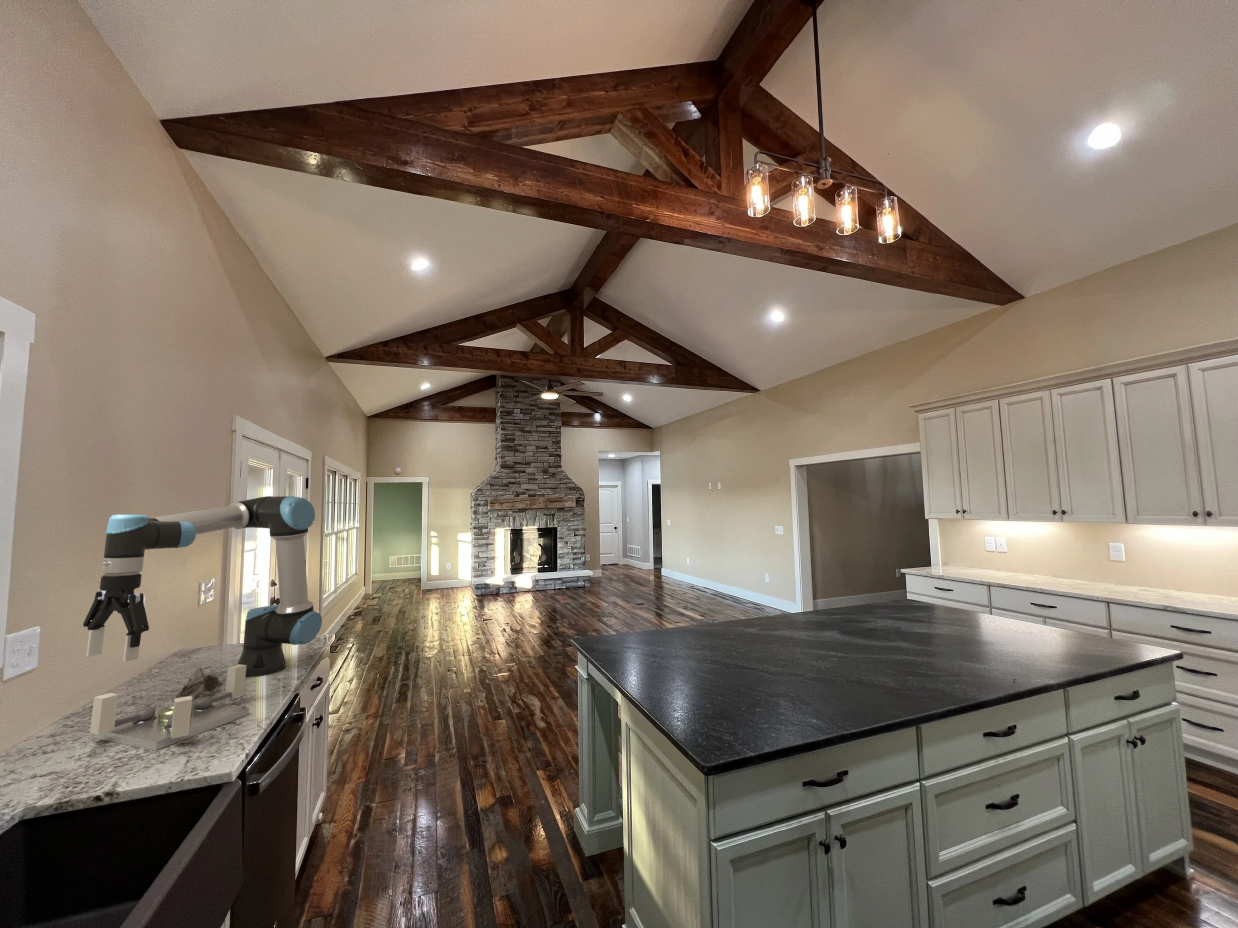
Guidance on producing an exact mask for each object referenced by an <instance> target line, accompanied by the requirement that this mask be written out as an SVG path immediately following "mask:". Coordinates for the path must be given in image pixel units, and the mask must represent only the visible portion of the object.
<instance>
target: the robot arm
mask: <svg viewBox="0 0 1238 928" xmlns="http://www.w3.org/2000/svg"><path fill="white" fill-rule="evenodd" d="M315 518H316V511H315V507H314V505H313V504H312V503H311V502H310V501H309V500H308V499H306V498H304V497H301V496H295V495H294V496H293V495H289V496H287V495H285V496H283V495H281V496H278V495H277V496H274V495H272V496H271V495H269V496H268V495H267V496H261V497H255V498H250V499H245V500H241V501H234V502H231V503H230V504H229V505H228V506H221V507H219V506H218V507H213V508H207V509H201V510H195V511H187V512H181V513H174V514H167V515H162V516H156V517H155V516H154V517H149V516H148V515H147V514H113V515H111V516H110V517H109V519H108V522H107V527H106V530H105V543H104V551H103V552H104V553H103V561H102V563H101V566H102V570H101V573H103V575H102V576H101V577H100V582H99V583H100V584H99V590H100V591H96V593H95V595H94V600H93V602H92V605H91V606H90V609H89V611H88V613H87V614H86V616H85V618H84V621H83V624H82V626H83V627H84V628H86V629H87V630H88V632H89V633H88V638H87V639H88V640H87V647H86V656H85V657H93V656H97V655H102V651H103V644H104V636H105V627H106V626H105V624H106V622H107V621H108V619H110V616H111V615H112V614H113V613H114V612H117V614H120V616H121V618H122V620H123V622H124V625H125V628H126V629H127V633H126V634H125V640H124V650H123V656H122V662H123V663H126V662H130V661H135V660H138V659H139V654H140V645H141V640H142V639H141V637H142V634H143V633H145V632H148V631H150V625H149V622H148V617H147V612H146V609H145V608H146V607H145V603H144V598H145V597H144V596H145V595H144V593H143V592H142V593H135V590H136V589H139V588H140V587H141V585H142V584H141V583H142V575H143V574H142V573H140V572H143V571H144V570H143V568H144V560H145V559H144V558H145V551H146V550H156V549H157V550H159V549H162V550H163V549H179V548H187V547H189V546H190V545H192V544H193V542H194V541H195V539H196V537H197V536H196V535H200V534H206V533H210V532H216V531H217V532H218V531H221V530H226V529H231V528H233V529H235V530H241V529H246V528H247V529H250V528H252V529H254V528H257V529H269V537H270V538H272V539H273V540H275V551H276V563H277V564H276V565H277V578H278V591H279V594H278V595H279V604H273V605H267V606H266V605H265V606H259V607H256V608H251V609H250V610H248V611H247V613H246V618H245V620H244V634H243V635H244V636H243V649H242V653H241V654H240V656H239V657H240V658H239V659H238V661H237V664H236V665H238V664H240V665H246V676H245V678H246V677H248V678H249V677H258V676H259V677H260V676H261V677H262V676H266V675H271V674H274V673H275V674H276V673H278V672H280V671H283V670H284V669H286V659H285V655H284V650H283V648H282V647H283V646H282V645H283V644H285V645H293V646H296V645H297V646H298V645H302V646H303V645H306V644H308V643H310V642H312V641H314V639H315V638H316V637H317V635H318V634H319V632H320V631H321V628H322V625H323V617H322V615H321V614H320V613H319V612H318V611H315V610H314V602H313V601H311V600H309V595H308V594H309V593H308V591H309V590H308V578H307V576H308V575H307V566H306V564H307V563H306V562H307V561H306V549H305V547H306V546H305V536H306V535H307V534H308V533H309V528H310V527H311V526H312V525H313V524H314V521H315V520H316V519H315Z"/></svg>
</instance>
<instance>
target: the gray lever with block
mask: <svg viewBox="0 0 1238 928" xmlns="http://www.w3.org/2000/svg"><path fill="white" fill-rule="evenodd" d="M237 664H238V663H237ZM237 664H235V665H231V666H228V667H227V674H226V683H225V684H226V685H225V692H222V693H220V694H216V695H213V696H207V697H201V698H197V699H195V700H194V709H202V708H207V707H210V706H211V705H212V703H214V702H217V703H218V702H219V701H222V700H226V699H229V698H231V699H235V698H237V697H241V696H243V695H244V693H245V684H246V677H245V676H246V665H240V664H238V665H237Z"/></svg>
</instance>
